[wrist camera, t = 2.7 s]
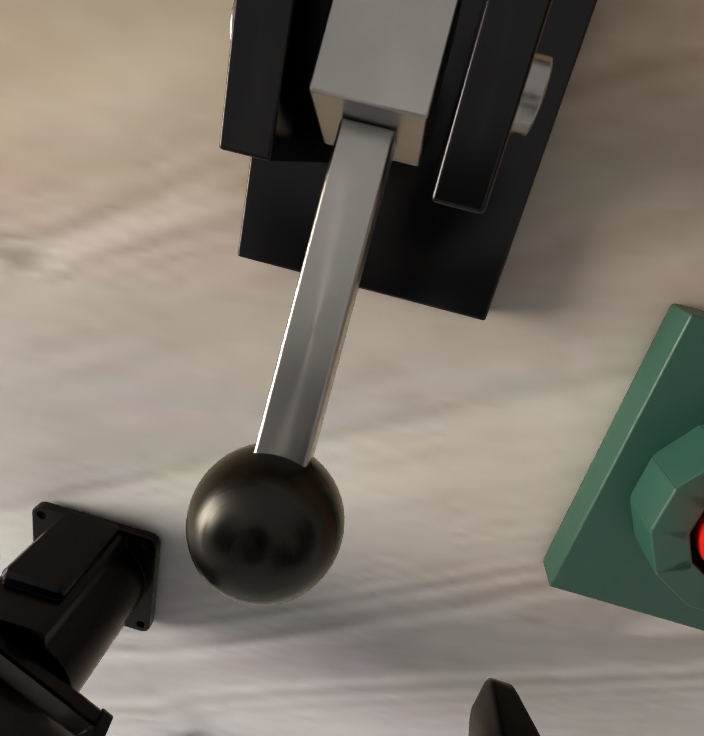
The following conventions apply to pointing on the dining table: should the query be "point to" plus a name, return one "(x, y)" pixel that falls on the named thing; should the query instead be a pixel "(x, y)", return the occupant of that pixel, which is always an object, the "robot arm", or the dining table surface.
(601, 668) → the dining table surface
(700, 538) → the button
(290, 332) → the switch lever
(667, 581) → the button block
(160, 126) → the dining table surface
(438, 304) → the switch bracket
